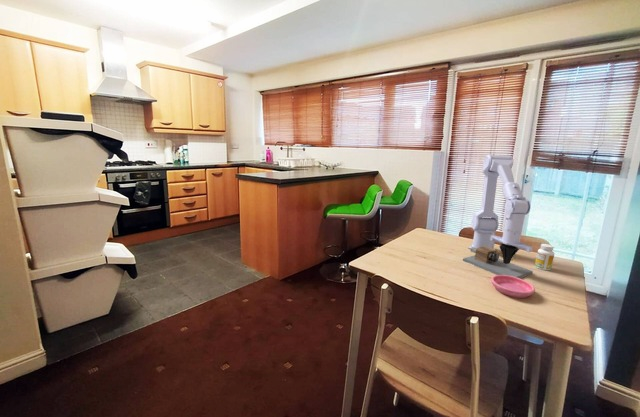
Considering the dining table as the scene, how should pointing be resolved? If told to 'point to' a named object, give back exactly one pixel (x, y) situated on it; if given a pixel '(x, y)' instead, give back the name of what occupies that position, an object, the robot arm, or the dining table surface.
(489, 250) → the bearing block
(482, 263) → the base board
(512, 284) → the saucer
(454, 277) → the dining table surface
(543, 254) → the supplement bottle
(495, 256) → the shaft
